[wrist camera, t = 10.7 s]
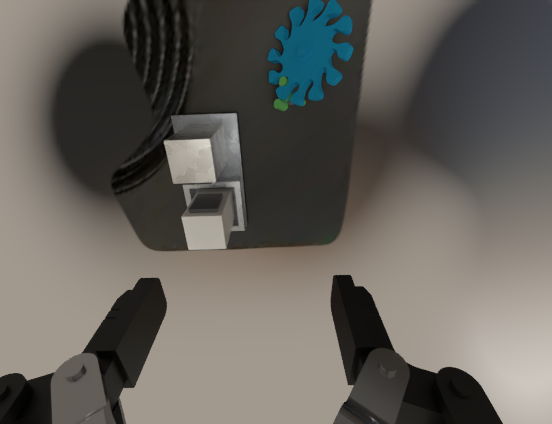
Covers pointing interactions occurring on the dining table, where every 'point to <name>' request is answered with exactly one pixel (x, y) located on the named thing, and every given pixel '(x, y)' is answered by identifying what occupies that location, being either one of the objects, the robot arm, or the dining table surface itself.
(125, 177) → the dining table surface
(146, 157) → the dining table surface
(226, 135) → the base with upright block
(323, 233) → the dining table surface
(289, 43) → the blue spiky virus toy
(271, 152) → the dining table surface
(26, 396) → the robot arm
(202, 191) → the block
